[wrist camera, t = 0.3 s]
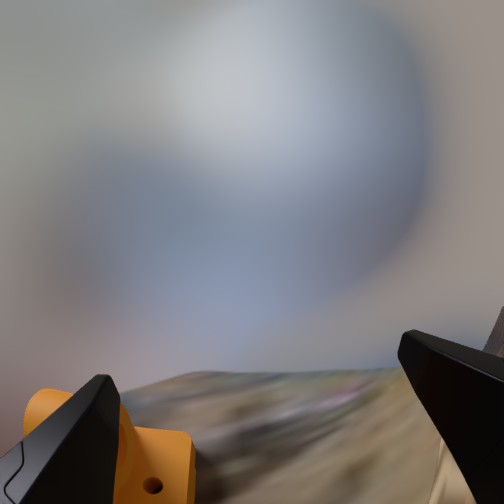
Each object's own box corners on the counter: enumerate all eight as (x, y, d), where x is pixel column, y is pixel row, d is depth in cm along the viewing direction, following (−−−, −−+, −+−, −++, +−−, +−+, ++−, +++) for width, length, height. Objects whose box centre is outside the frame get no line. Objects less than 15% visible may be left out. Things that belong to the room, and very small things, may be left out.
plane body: (479, 552, 4) (533, 529, 1) (409, 557, 7) (456, 544, 4) (492, 389, 19) (518, 346, 17) (445, 383, 23) (468, 338, 20)
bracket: (192, 554, 10) (124, 533, 5) (100, 534, 9) (-5, 475, 5) (198, 445, 20) (164, 350, 15) (122, 437, 19) (64, 343, 15)
